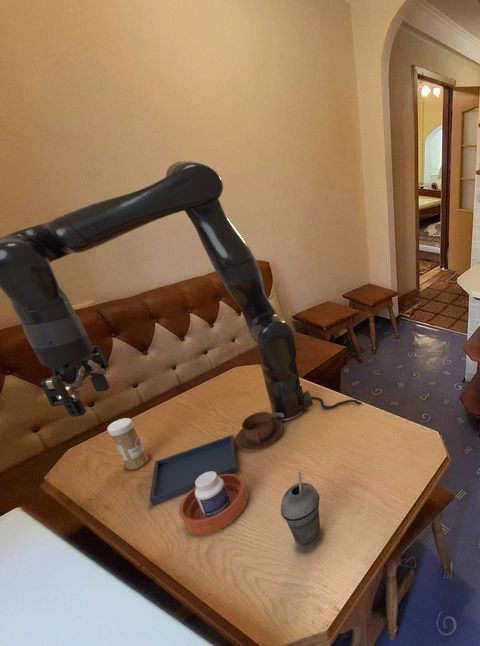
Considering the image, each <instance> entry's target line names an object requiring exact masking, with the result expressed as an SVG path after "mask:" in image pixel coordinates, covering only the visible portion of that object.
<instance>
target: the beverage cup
mask: <svg viewBox="0 0 480 646" xmlns="http://www.w3.org/2000/svg"><path fill="white" fill-rule="evenodd" d="M297 474H298V483H295V484H294V485H292V486H291V487H289V488H288V489H287V490H286V491H285V492H284V494H283V496H282V498H281V502H280V515H281V517H282V518H283V519H284V521H285V522H286V523H287V526H288V528H289V530H290V532H291V534H292V537H293V539H294V542H295V544H296V545H297V547H298V549H299V550H300V551H302V552H308V551H311V550H314V548H316V547H317V545H318V544H319V543H320V541H321V521H320V520H321V519H320V510H319V507H320V500H321V499H320V497H321V496H320V493H319V492H318V490H317V489H316V487H314V485H313V484H310V483H308V482H303V481H302V472H300V471H299V472H298V473H297Z"/></svg>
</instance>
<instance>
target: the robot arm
mask: <svg viewBox="0 0 480 646" xmlns="http://www.w3.org/2000/svg"><path fill="white" fill-rule="evenodd" d="M223 191H224V184H223V180H222V178H221V176H220V175H219V173H218V172H217V171H216V170H215V169H213V168H211V167H210V166H209V165H206V164H204V163H201V162H198V161H191V160H190V161H188V160H179V161H176V162H174V163H172V164H171V165H170V166H169V167H168V168H167V170H166V173H165V177H163V178H161V179H160V180H158V181H156V182H155V183H152V184H150V185H148V186H145V187H143V188H141V189H139V190H135V191H133V192H129V193H126V194H123V195H122V194H121V195H120V196H114V197H112V198H108V199H104V200H101V201H98V202H94V203H92V204H88V205H85V206H83V207H81V208H77V209H76V210H75V209H74V210H73V211H70V212H68V213H64V214H63V215H60V216H58V217H55V218H54V219H51V220H49V221H47V222H44V223H40V224H37V225H33V226H30V227H26V228H23V229H20V230H17V231H14V232H11V233H8V234H6V235H3V236H0V289H1V291H2V292H3V293H4V294H5V296H6V297H7V298H8V299H9V302H10V305H11V307H12V309H13V311H14V313H15V314H16V316H17V318H18V320H19V322H20V324H21V327H22V330H23V332H24V335H25V337H26V339H27V341H28V343H29V344H30V347H31V348H32V350H33V352H34V353H35V355H36V357H37V359H38V361H39V363H40V364H41V365H42V366H45V367H48V368H50V369H51V370H52V376H51V377H49V378H44V379H41V380H40V386H41V388H42V390H43V392H44V394H45V396H46V398H47V400H48V402H49V404H50V406H51V408H54V407H61V406H64V408H65V409H66V411H67V413H68V415H69V416H70V417H73V418H77V417H83V416H85V414H86V413H87V410H86V407H85V406H84V404H83V402H82V400H81V399H80V390H82V388H83V382H84V381H85V380H86V378H87V377H90V378H89V380H90V383H91V384H92V386H93V388H94V390H95V391H96V392H98V393H100V392H106V391H108V390H109V389H110V384H109V382H108V380H107V378H106V369H109V367H110V364H109V362H108V360H107V358H106V356H105V354H104V352H103V351H102V349H101V347H100V345H93V343H92V341H91V339H90V337H89V336H88V335H89V334H88V333H87V331H86V328H85V326H84V324H83V322H82V320H81V319H80V317H79V316H78V315H77V313H76V311H75V310H74V307H73V305H72V304H71V303H72V302H71V301H70V299H69V297H68V295H67V293H66V292H65V290H64V289H63V288H62V287H61V286H60V285H59V282H58V280H57V277H56V275H55V273H54V270H53V268H52V265H51V263H53V262H55V261H58V260H60V259H62V258H65V257H67V256H69V255H71V254H81V253H86V252H87V251H90V250H93V249H95V248H97V247H100V246H102V245H105V244H106V243H109V242H111V241H113V240H116V239H117V238H120V237H122V236H124V235H126V234H128V233H130V232H132V231H135V230H137V229H139V228H141V227H143V226H146V225H148V224H150V223H152V222H155V221H157V220H160V219H163V218H166V217H169V216H172V215H175V214H177V213H181V212H185V214H186V216H187V217H188V219H189V220H190V221H191V223H192V225H193V227H194V229H195V230H196V233H197V235H198V237H199V239H200V242H201V245H202V247H203V249H204V251H205V253H206V255H207V257H208V259H209V261H210V263H211V265H212V267H213V269H214V271H215V272H216V275H218V278H219V280H220V281H221V283H222V284H223V286H224V287H225V289H226V291H227V292H228V293H229V295H230V296H231V298H232V299H233V300H234V301H235V304H236V305H237V306H238V308H239V309H240V311H241V315H242V316H243V319H244V321H245V323H246V327H247V329H248V331H249V334H250V337H251V338H252V339H253V340H254V342H255V343H256V344H257V345H258V348H259V352H260V357H261V359H260V363H259V364H260V369H261V372H262V377H263V380H264V384H265V389H266V392H267V396H268V401H269V404H270V409H271V413H272V414H271V415H272V418H276V419H279V420H280V421H281V422H289V421H292V420H295V419H297V418H298V417H300V416H301V415H302V414H303V413H306V412H307V408H309V407H311V406H314V402H313V401H319V403H320V406H321V407H322V408H323V409H325V410H330V409H335V408H337V407H338V406H341V405H345V404H349V403H354V404H357V405H362V402H361V401H360V400H357V399H346V400H342V401H338V402H336V403H335V404H333V405H325V404H324V400H323V399H322V398H321V397H316V396H312V395H311V393H310V390H305V391H304V390H303V386H302V383H301V379H300V377H299V371H298V370H299V369H298V365H297V360H296V358H297V348H296V342H295V335H294V332H293V329H292V327H291V325H290V324H289V323H288V322H286V320H284V319H283V318H282V317H281V316H280V315H279V314H278V313H277V311H276V310H275V309H274V307H273V306H272V304H271V301H270V300H269V298H268V296H267V293H266V290H265V283H264V277H263V275H262V271H261V269H260V268H261V267H260V266H259V264H258V262H257V260H256V258H255V256H254V254H253V252H252V250H251V248H250V246H249V245H248V244H247V242H246V241H245V239H244V238H243V236H241V234H240V232H239V231H238V230H237V228H236V227H234V225H233V223H232V222H231V221H230V219H229V218H228V216H227V214H226V211H225V210H224V208H223V206H222V203H221V200H220V197H221V196H222V193H223ZM98 362H100V363H98ZM65 384H67V385H69V386H66V385H65ZM69 391H71V395H70V393H69ZM358 401H359V402H358Z"/></svg>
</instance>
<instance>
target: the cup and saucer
mask: <svg viewBox="0 0 480 646" xmlns="http://www.w3.org/2000/svg"><path fill="white" fill-rule="evenodd" d="M241 427H242V428H241V429H240V430H239V432H238V433H237V435H236V437H235V443H236V444H237V446H238V447H240V448H241V449H242V450H258V449H261V448H264V447H266V446H267V447H268V446H269V445H270V444H272V443H273V442H275V441H276V440H277V439H278V438H279V437H280V436H281V434H282V433H283V430H284V423H283V421H280V420H279V419H276V418H273V415H272V414H271V413H269V412H267V411H260V412H254V413H253V414H250V415H249V416H247V417H246V418H245V419H244V420H243V421H242V422H241Z"/></svg>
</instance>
